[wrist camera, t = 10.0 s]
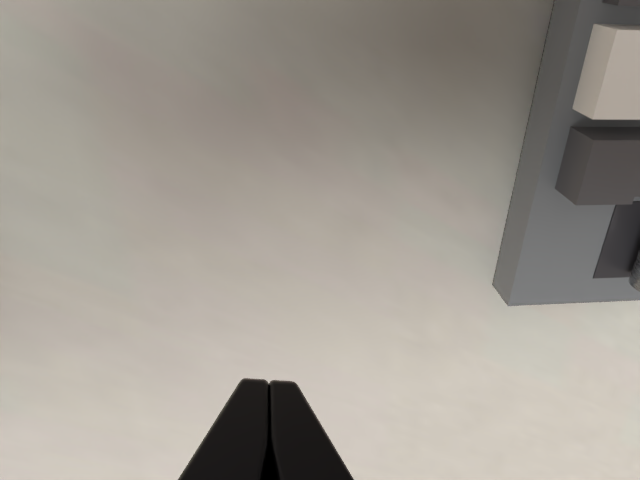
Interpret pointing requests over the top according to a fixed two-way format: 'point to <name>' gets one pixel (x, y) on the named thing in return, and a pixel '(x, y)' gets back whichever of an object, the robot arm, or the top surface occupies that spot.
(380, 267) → the top surface
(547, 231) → the panel
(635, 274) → the orange knob lever
